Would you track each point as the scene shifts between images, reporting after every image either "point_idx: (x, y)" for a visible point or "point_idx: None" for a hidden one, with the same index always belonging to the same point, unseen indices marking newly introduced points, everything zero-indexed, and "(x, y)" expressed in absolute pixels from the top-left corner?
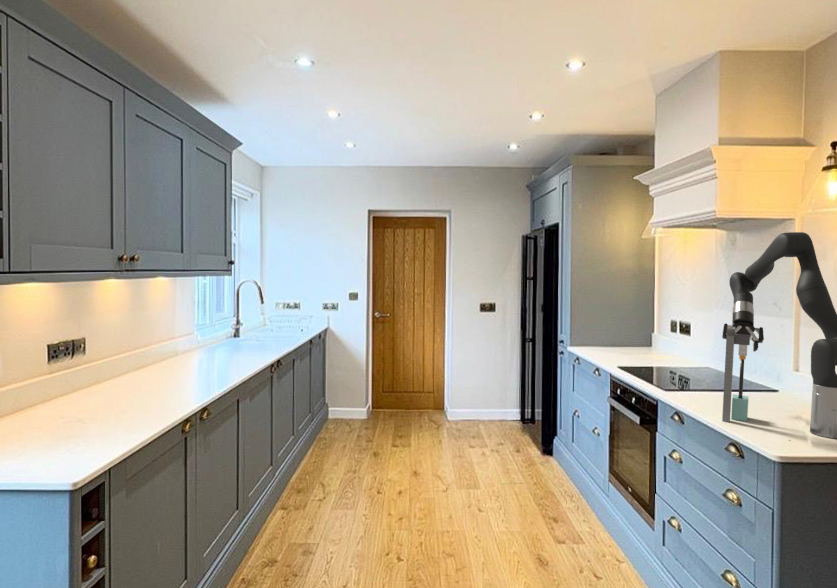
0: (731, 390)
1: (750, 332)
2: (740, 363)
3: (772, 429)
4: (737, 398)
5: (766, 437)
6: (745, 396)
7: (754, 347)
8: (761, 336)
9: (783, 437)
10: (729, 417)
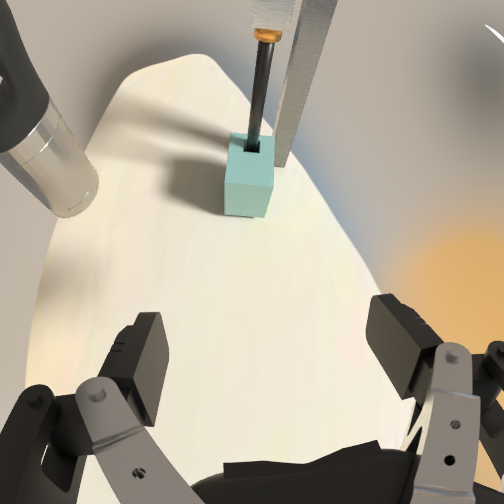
0: (282, 97)
1: (163, 486)
2: (272, 52)
3: (174, 167)
4: (260, 136)
5: (200, 108)
6: (234, 173)
7: (153, 317)
8: (25, 428)
9: (166, 122)
10: None
